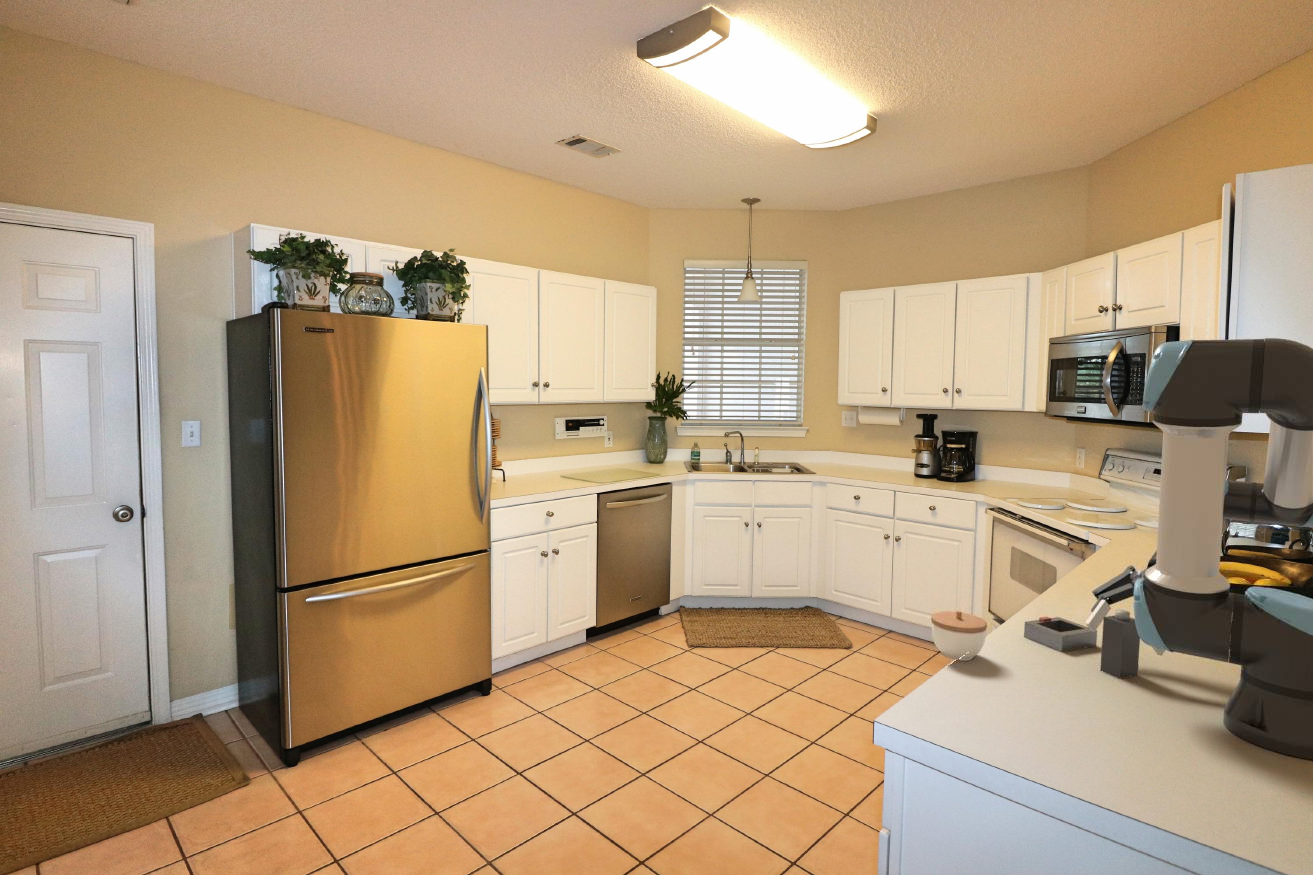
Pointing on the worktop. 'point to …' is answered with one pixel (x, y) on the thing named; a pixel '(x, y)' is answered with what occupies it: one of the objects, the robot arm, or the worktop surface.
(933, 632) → the lidded jar
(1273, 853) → the worktop surface
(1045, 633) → the socket
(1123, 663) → the plug
